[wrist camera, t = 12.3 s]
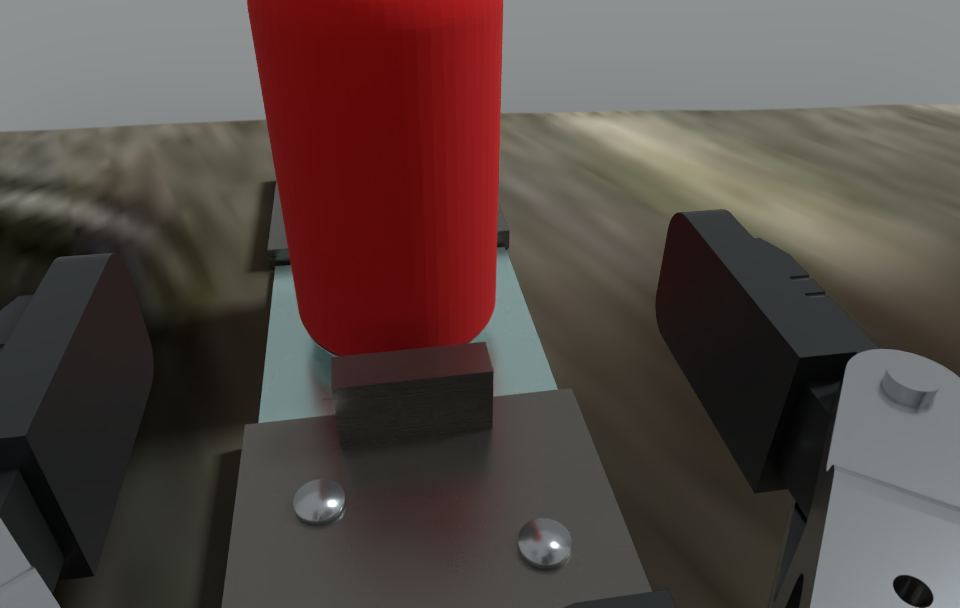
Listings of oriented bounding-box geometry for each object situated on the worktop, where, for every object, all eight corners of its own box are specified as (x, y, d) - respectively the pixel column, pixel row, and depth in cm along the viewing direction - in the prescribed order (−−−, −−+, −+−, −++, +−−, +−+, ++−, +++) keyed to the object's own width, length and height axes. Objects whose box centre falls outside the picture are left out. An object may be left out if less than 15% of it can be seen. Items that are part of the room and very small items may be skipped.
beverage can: (348, 265, 27) (305, -106, 20) (512, 290, 26) (528, -95, 19) (269, 370, 22) (177, -69, 15) (467, 407, 21) (465, -53, 14)
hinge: (477, 165, 35) (477, 108, 33) (663, 657, 15) (686, 577, 14) (281, 179, 33) (271, 120, 32) (216, 730, 14) (183, 653, 12)
